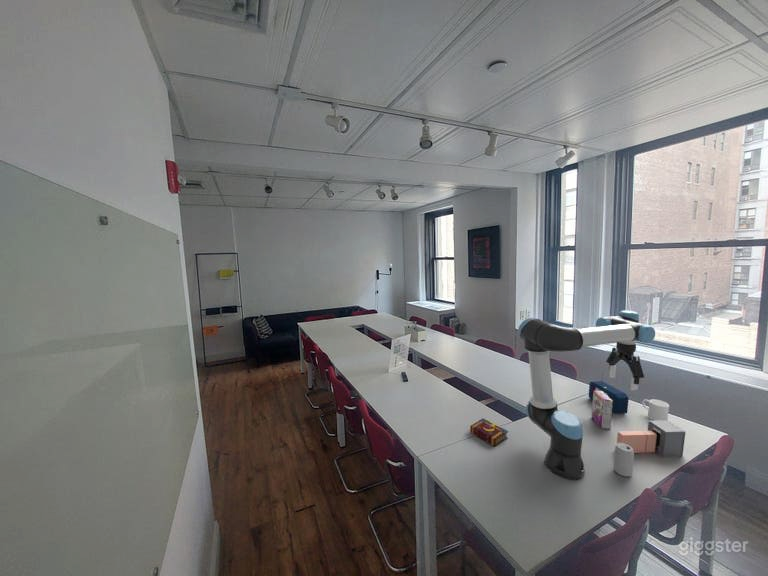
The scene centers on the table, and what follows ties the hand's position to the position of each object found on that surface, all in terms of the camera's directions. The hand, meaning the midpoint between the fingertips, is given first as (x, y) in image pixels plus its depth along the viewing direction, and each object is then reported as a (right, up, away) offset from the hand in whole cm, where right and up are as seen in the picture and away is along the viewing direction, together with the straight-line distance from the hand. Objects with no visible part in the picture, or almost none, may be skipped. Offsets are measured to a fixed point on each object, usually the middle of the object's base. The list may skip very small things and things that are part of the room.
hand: (622, 383), depth 151 cm
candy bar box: (0, -27, +16) cm, 31 cm away
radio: (+16, -25, +33) cm, 44 cm away
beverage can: (-16, -32, -20) cm, 41 cm away
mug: (+33, -26, +20) cm, 47 cm away
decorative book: (-65, -30, +7) cm, 72 cm away
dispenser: (+14, -30, -7) cm, 34 cm away
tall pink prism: (0, -30, -7) cm, 31 cm away
